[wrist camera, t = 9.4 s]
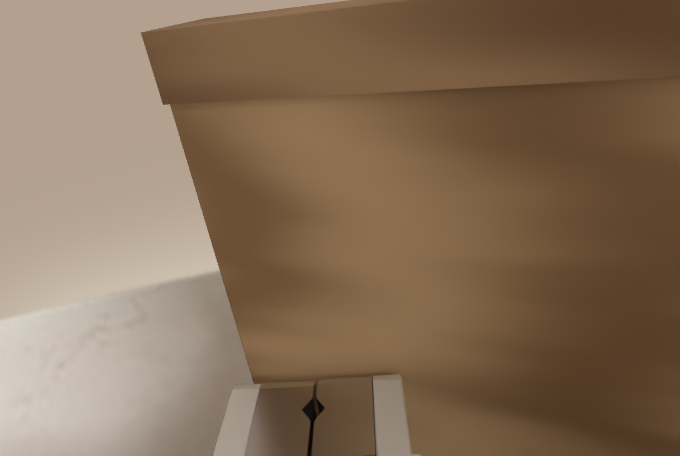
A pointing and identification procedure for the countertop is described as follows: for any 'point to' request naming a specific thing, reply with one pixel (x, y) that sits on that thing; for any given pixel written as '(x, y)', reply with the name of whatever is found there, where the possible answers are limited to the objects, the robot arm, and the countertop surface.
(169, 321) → the countertop surface
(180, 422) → the countertop surface
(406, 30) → the hinged fence panel
